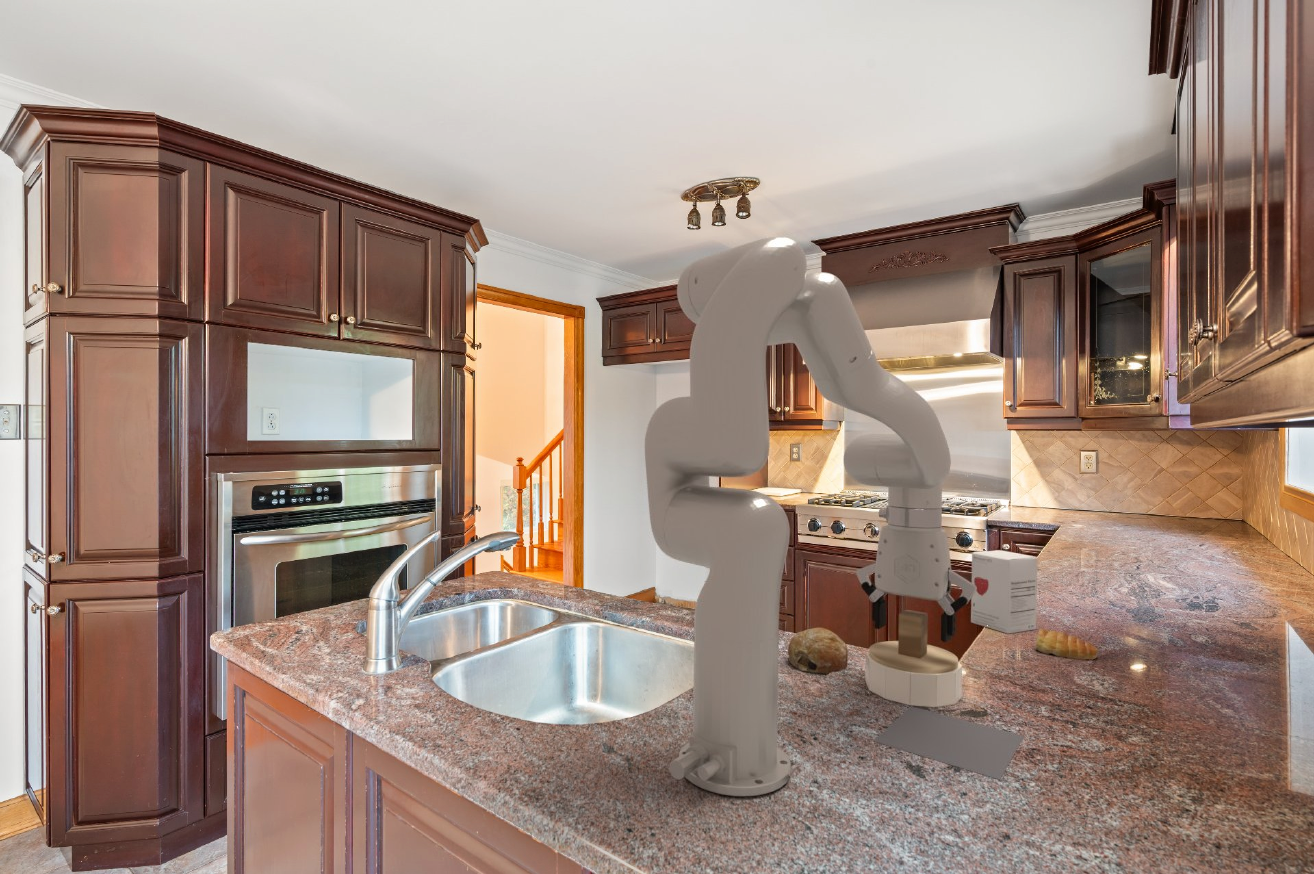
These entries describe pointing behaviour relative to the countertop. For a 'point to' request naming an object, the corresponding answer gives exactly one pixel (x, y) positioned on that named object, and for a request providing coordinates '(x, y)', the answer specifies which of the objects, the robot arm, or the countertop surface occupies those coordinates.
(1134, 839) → the countertop surface
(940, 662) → the lid
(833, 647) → the bread roll
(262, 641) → the countertop surface
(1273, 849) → the countertop surface
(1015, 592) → the supplement box
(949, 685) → the bowl
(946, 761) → the mat
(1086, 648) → the pastry
